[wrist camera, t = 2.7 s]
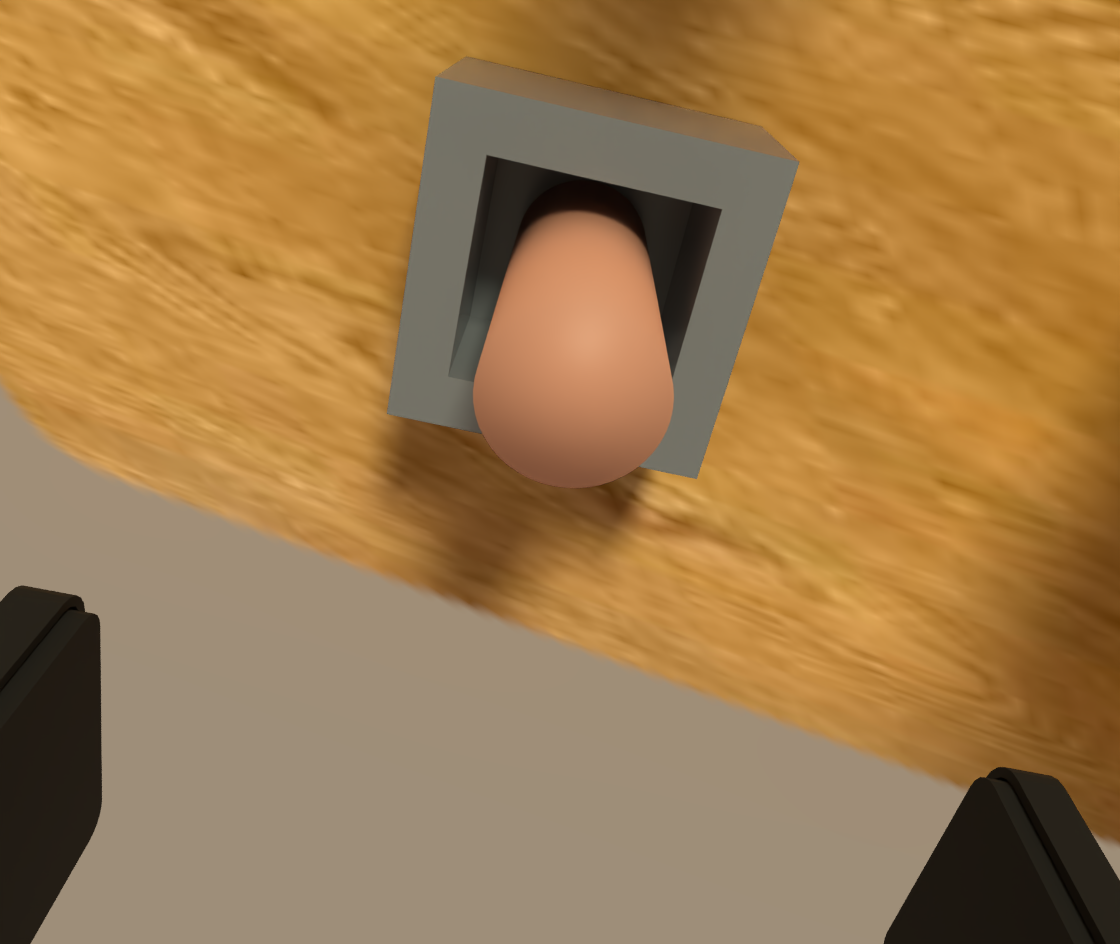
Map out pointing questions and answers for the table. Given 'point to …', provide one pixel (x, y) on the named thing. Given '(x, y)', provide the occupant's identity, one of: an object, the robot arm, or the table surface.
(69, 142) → the table surface
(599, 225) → the dowel
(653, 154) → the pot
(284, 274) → the table surface
